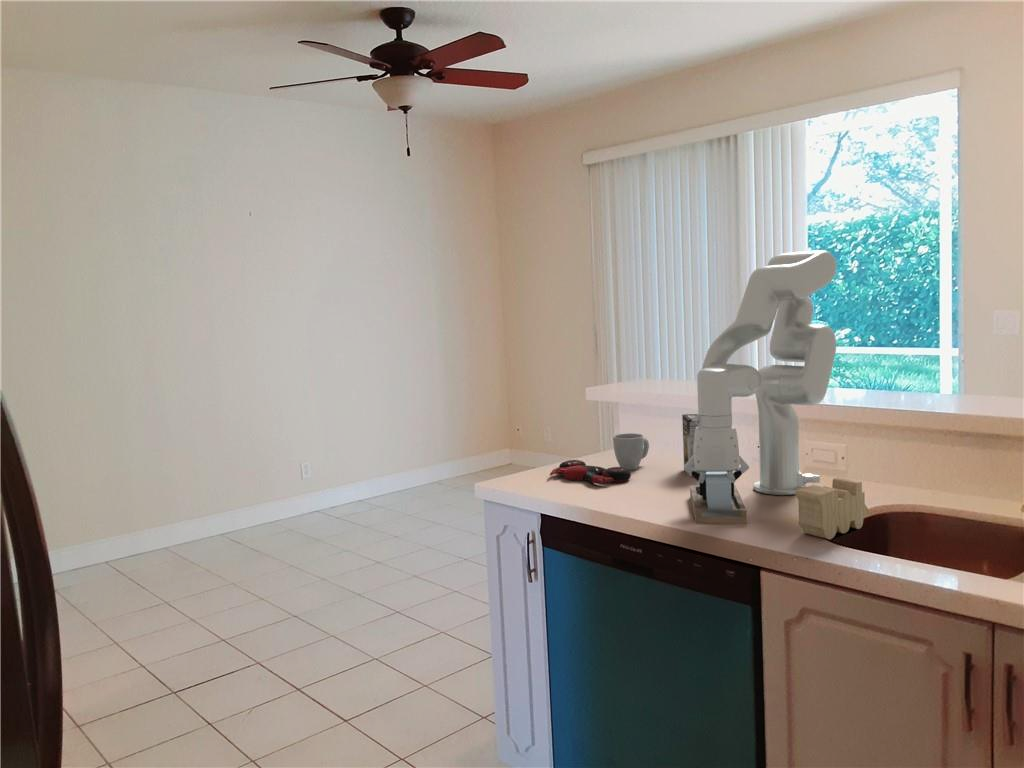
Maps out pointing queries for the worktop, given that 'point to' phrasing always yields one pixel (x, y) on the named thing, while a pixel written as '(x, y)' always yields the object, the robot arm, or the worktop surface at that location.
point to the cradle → (718, 510)
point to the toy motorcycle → (591, 472)
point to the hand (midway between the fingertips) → (716, 497)
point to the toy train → (831, 508)
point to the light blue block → (718, 490)
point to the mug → (630, 449)
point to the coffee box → (688, 437)
